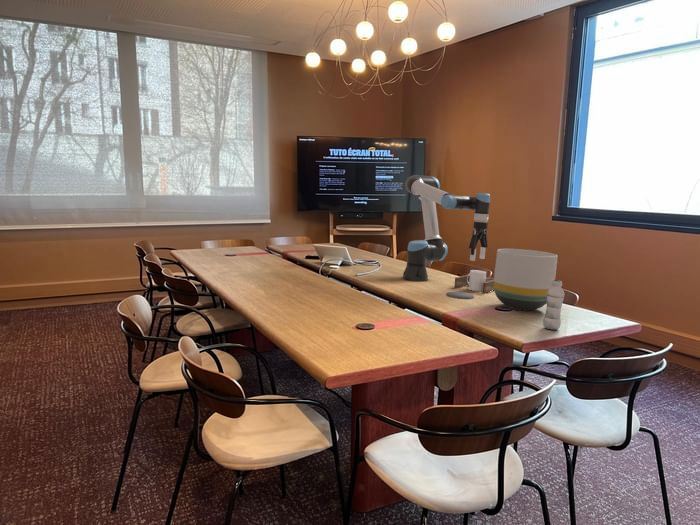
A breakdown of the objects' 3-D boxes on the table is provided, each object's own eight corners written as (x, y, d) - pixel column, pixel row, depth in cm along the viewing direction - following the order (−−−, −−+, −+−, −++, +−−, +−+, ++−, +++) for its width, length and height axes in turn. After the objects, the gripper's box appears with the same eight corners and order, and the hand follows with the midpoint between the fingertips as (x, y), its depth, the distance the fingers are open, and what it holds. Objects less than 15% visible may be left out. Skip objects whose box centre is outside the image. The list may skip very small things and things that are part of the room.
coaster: (441, 295, 244) (441, 294, 244) (453, 291, 255) (453, 290, 255) (467, 300, 236) (467, 299, 236) (478, 296, 247) (478, 295, 247)
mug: (471, 287, 272) (473, 268, 270) (487, 291, 262) (489, 272, 260) (460, 287, 268) (462, 269, 266) (476, 292, 257) (478, 273, 256)
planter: (563, 316, 214) (570, 257, 210) (508, 315, 209) (514, 255, 205) (531, 302, 240) (537, 249, 236) (481, 301, 235) (487, 247, 231)
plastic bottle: (539, 326, 194) (545, 278, 191) (554, 327, 194) (560, 279, 191) (547, 331, 187) (553, 282, 184) (563, 331, 188) (569, 282, 185)
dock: (454, 288, 265) (455, 277, 264) (467, 284, 279) (468, 274, 278) (485, 293, 254) (486, 283, 253) (497, 289, 268) (498, 279, 267)
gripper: (478, 222, 247) (474, 262, 250) (495, 221, 267) (492, 258, 270) (465, 221, 251) (461, 260, 254) (483, 220, 271) (479, 257, 274)
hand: (477, 259), depth 262 cm, fingers open, 13 cm apart
